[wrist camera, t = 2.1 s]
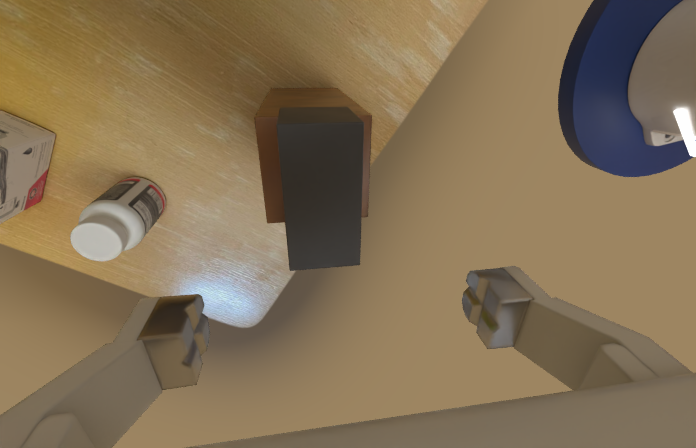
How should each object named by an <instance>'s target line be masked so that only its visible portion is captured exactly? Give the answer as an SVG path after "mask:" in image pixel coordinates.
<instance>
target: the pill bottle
mask: <svg viewBox="0 0 696 448" xmlns="http://www.w3.org/2000/svg"><path fill="white" fill-rule="evenodd" d="M165 207H166V199H165V196H164V194H163V192H162V191H161V189H160V188H159V187H158V186H157V185H156V184H154V183H153V182H151V181H149V180H146V179H143V178H138V177H131V178H126V179H124V180H121V181H120V182H118V183H117V184H116V185H114V186H113V187H112V188H110V189H109V190H108V191H106V192H105V193H104V194H103V195H101V196H100V197H99V198H97V199H96V200H95V201H93V202H92V203H91V204H89V205H88V206H87V207H86V208H85V209H84V210H83V211H82V213H81V214H80V217H79V224H78V225H77V226H76V227H75V228H74V229H73V230H72V232H71V236H70V240H71V243H72V246H73V247H74V249H75V250H76V251H77V252H78V253H79V254H81V255H82V256H84V257H86V258H88V259H91V260H95V261H108V260H112V259H114V258H116V257H117V256H118V255H119V254H120V253H121V252H122V251H126V250H129V249H131V248H133V247H135V246H136V245H137V244H138V243H139V242H141V240H142V239H143V238H144V236H145V235H146V234H147V233H148V231H149V230H150V229H151V227H152V226H153V225H154V224H155V222H156V221H157V220H158V219H159V217H160V216H161V215H162V213H163V212H164V210H165Z"/></svg>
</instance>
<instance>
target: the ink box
mask: <svg viewBox="0 0 696 448" xmlns="http://www.w3.org/2000/svg"><path fill="white" fill-rule="evenodd" d="M55 136H56V135H55V134H54V133H52V132H50V131H48V130H46V129H44V128H42V127H39V126H37V125H35V124H33V123H30V122H28V121H26V120H23V119H21V118H18V117H16V116H14V115H11V114H9V113H6V112H4V111H1V110H0V224H1V223H3V222H4V221H6V220H8V219H10V218H12V217H13V216H15V215H17V214H19V213H20V212H22V211H24V210H26V209H27V208H29V207H31V206H33V205H35V204H36V203H38V202H40V201H41V199H42V194H43V190H44V185H45V181H46V176H47V172H48V167H49V163H50V159H51V154H52V150H53V145H54V141H55Z"/></svg>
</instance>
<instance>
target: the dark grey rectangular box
mask: <svg viewBox="0 0 696 448" xmlns="http://www.w3.org/2000/svg"><path fill="white" fill-rule="evenodd" d="M276 128H277V139H278V149H279V160H280V171H281V182H282V193H283V203H284V214H285V225H286V236H287V246H288V257H289V268H290V271H294V270H306V269H317V268H330V267H342V266H353V265H360V247H361V246H360V245H361V214H362V181H363V147H364V122H363V121H362V120H361V119H360V118H359V117H358V116H357V115H356V114H355V113H354V112H353V111H352V110H351V109H350V108H349V107H281V108H280V110H279V115H278V119H277V124H276Z"/></svg>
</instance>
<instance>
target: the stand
mask: <svg viewBox="0 0 696 448" xmlns="http://www.w3.org/2000/svg"><path fill="white" fill-rule="evenodd" d="M281 107H349V108H350V109H351V110H352V111H353V112H354V113H355V114H356V115H357V116H358V117H359V118H360V119H361V120H362V121H363V122H364V147H363V181H362V214H361V217H368V201H369V177H370V153H371V128H372V115H371V114H370V113H369V112H367V111H366V110H365V109H363V108H362V107H361V106H360V105H358V104H357V103H356V102H355V101H353V100H352V99H351V98H349V97H348V96H347V95H346V94H344V93H343V92H342V91H340V90H339V89H338V88H271V89H270V91H269V93H268V94H267V96H266V98H265V100H264V101H263V103H262V105H261V107H260V108H259V110H258V112H257V114H256V116H255V118H254V119H255V127H256V136H257V144H258V152H259V160H260V168H261V176H262V185H263V193H264V201H265V209H266V217H267V223H281V222H285V214H284V203H283V193H282V182H281V171H280V160H279V149H278V139H277V128H276V124H277V119H278V115H279V110H280V108H281Z"/></svg>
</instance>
